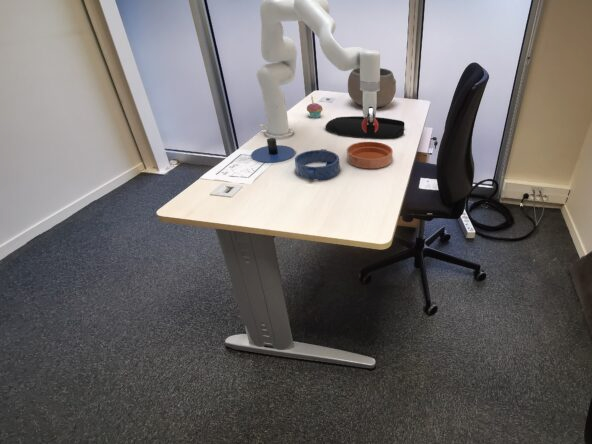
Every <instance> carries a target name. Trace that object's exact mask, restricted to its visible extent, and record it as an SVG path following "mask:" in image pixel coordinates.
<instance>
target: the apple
mask: <svg viewBox="0 0 592 444" xmlns="http://www.w3.org/2000/svg"><path fill="white" fill-rule="evenodd" d="M374 124H375V132H376V131H377V130H378V126H379V125H378V121H377V120H376V119H375V118H374ZM362 129H363V130H364V132H366V133H367V117H366V118H365V119H364V120H363V122H362Z"/></svg>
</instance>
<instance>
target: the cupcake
mask: <svg viewBox="0 0 592 444" xmlns="http://www.w3.org/2000/svg"><path fill="white" fill-rule="evenodd" d="M310 98H311V103H309V104H308V105H307V106H306V111H307V112H308V114H309V116H310V117H311V118H312V119H318V118H321V117H320V116H321V113H322V111H323V106H322V105H321V104H320V103H315V102H314V96H311V97H310Z"/></svg>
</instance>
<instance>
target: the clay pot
mask: <svg viewBox="0 0 592 444" xmlns="http://www.w3.org/2000/svg"><path fill="white" fill-rule="evenodd" d="M396 84H397V80H396V78H395V76H394V73H393V71H392V70H390V69H387V68H382V67H380V90H379V91H377V105H376V109H377V108H383V107H385V106H387V105H388V104H391V102H392V101H393V99H394V97H395V95H396V91H397V85H396ZM347 93H348V95H349V98H350V99H351V100H352V101H353V102H354V103H355V104H357V105H359V106H360V107H363V91H362V90H360V68H357V69H352V70H351V71H350V73H349V75H348V78H347Z"/></svg>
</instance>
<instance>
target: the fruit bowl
mask: <svg viewBox="0 0 592 444" xmlns="http://www.w3.org/2000/svg"><path fill="white" fill-rule="evenodd" d="M393 153H394V151H393V148H392V147H391V146H390V145H388V144H385V143H383V142H378V141H359V142H355V143H353V144H351V145H349V146H347V149H346V159H347V162H348V163H349V164H350V165H352V166H355V167H357V168H362V169H379V168H384V167H387V166H388V165H390V164H391V163H392V162H393V155H394V154H393Z"/></svg>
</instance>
